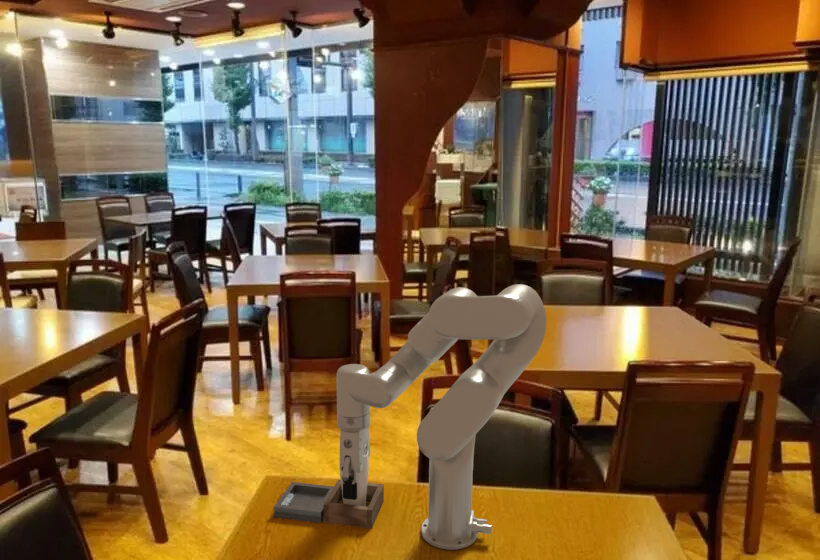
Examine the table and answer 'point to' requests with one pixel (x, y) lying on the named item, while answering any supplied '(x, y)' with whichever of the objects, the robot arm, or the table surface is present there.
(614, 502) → the table surface
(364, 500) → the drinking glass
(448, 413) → the robot arm
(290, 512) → the metal cradle
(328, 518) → the frame
